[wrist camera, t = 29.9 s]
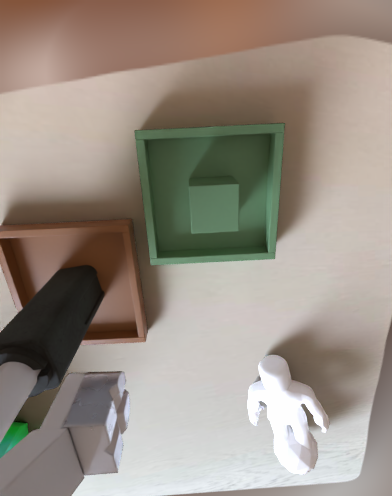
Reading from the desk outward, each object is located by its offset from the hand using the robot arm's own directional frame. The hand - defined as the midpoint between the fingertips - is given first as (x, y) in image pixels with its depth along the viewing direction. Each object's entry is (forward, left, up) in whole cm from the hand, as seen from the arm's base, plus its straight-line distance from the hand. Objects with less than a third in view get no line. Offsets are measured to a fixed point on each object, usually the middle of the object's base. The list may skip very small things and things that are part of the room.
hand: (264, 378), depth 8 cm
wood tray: (+10, -16, -24) cm, 31 cm away
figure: (+32, +10, -24) cm, 41 cm away
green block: (0, 0, -24) cm, 24 cm away
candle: (+10, -16, -24) cm, 30 cm away
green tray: (0, 0, -24) cm, 24 cm away
